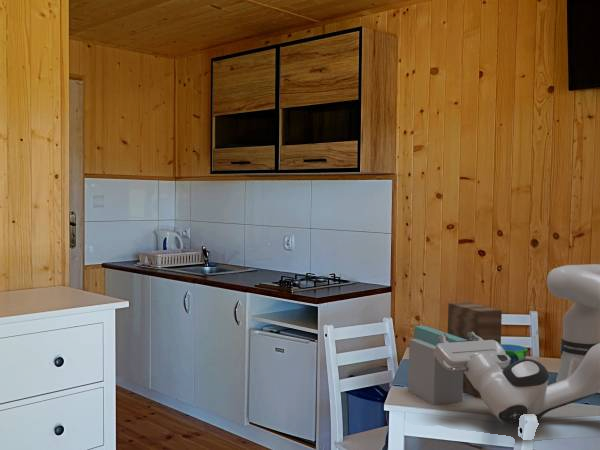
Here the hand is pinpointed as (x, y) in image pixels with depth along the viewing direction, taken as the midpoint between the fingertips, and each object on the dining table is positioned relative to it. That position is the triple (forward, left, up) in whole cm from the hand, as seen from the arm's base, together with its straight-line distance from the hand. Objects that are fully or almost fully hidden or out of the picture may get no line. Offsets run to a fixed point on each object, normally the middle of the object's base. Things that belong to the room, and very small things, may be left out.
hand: (455, 334), depth 180 cm
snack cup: (-1, -41, -21) cm, 46 cm away
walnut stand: (+3, -19, -21) cm, 28 cm away
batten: (+7, -4, -5) cm, 9 cm away
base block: (+9, -5, -21) cm, 23 cm away
